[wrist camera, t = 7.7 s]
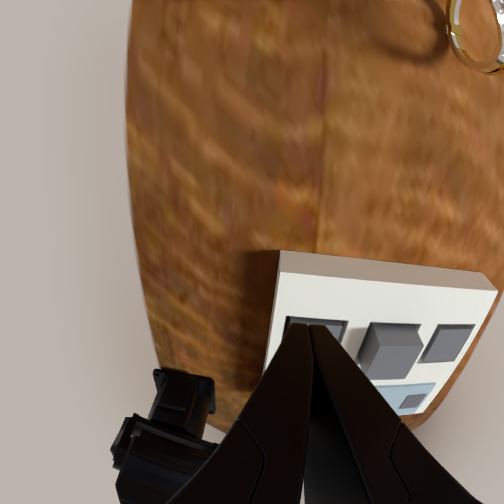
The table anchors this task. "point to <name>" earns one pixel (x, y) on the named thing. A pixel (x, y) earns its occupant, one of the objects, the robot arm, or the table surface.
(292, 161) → the table surface
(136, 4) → the table surface
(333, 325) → the button left
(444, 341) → the button right
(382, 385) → the button board
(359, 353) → the button middle
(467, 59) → the ring
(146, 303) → the table surface
